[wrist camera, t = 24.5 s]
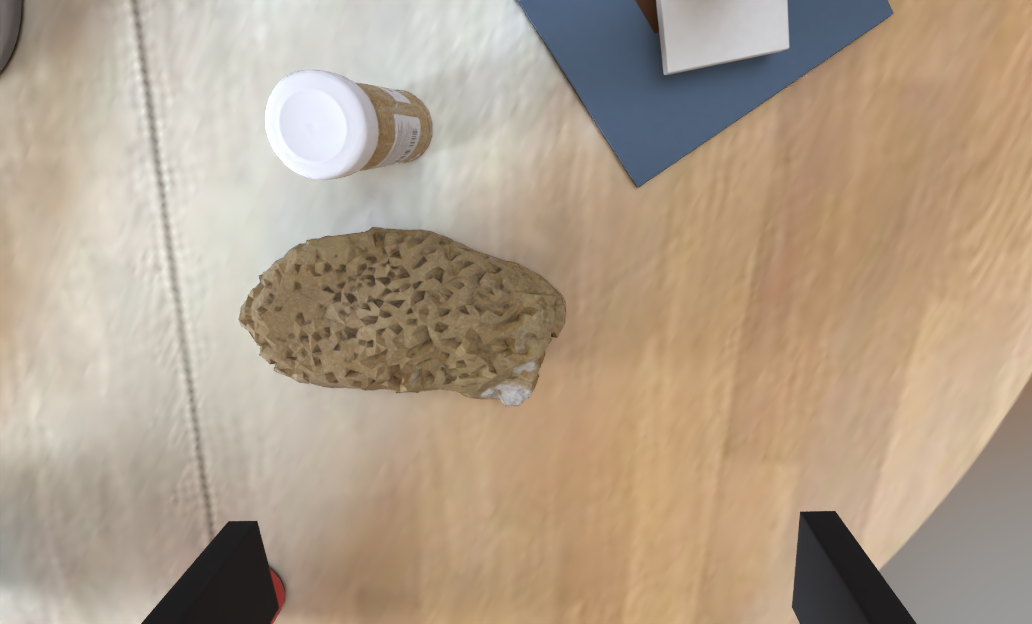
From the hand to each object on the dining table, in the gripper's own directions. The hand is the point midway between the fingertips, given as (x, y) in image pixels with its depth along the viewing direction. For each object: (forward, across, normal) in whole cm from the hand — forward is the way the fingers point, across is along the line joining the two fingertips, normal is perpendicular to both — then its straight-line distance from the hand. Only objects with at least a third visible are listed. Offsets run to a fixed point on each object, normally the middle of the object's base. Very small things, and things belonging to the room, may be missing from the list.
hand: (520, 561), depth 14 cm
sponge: (+27, -10, -1) cm, 29 cm away
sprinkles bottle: (+27, -9, +11) cm, 30 cm away
